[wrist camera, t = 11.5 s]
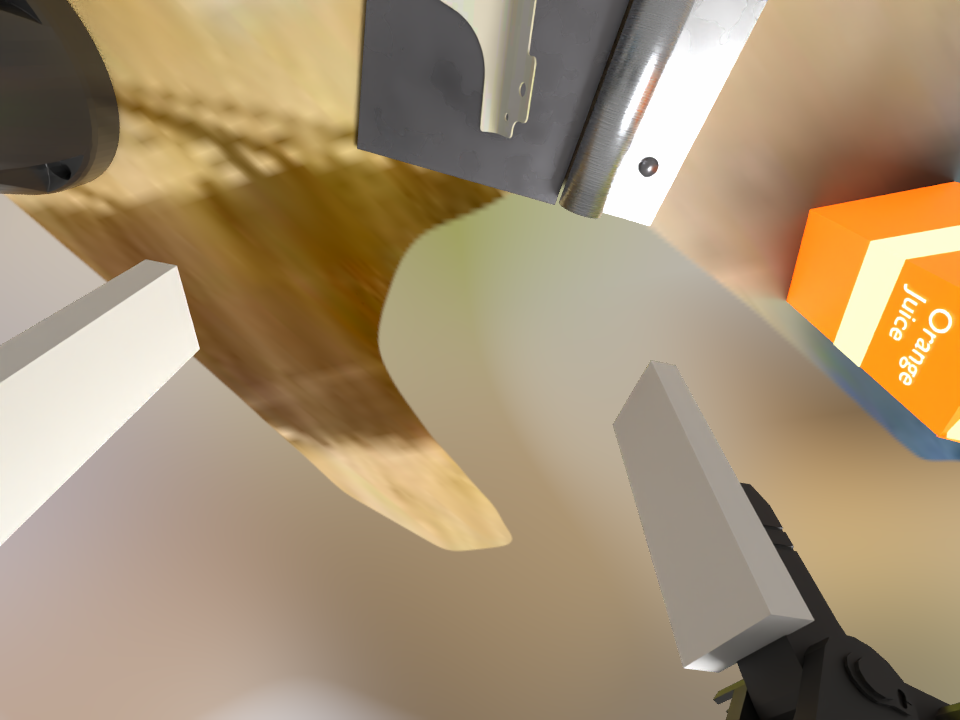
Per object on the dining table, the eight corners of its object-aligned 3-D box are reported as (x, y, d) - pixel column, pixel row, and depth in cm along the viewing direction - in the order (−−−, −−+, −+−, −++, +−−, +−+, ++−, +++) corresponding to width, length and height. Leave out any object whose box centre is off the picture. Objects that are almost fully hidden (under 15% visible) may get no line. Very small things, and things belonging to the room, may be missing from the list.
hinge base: (358, 147, 27) (344, 157, 25) (389, -326, 17) (370, -388, 14) (643, 229, 30) (656, 244, 27) (832, -136, 19) (879, -162, 17)
